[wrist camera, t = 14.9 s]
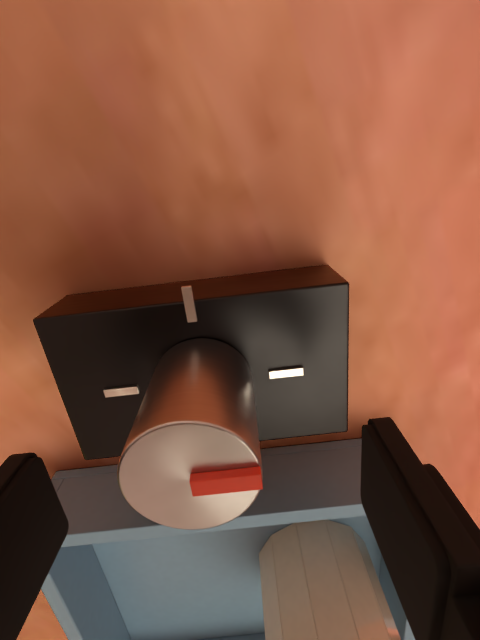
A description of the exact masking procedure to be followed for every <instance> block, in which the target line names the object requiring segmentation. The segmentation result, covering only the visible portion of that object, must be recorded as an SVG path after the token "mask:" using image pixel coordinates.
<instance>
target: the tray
mask: <svg viewBox="0 0 480 640" xmlns="http://www.w3.org/2000/svg"><path fill="white" fill-rule="evenodd" d="M361 445H362V438H358V439H349V440H340V441H331V442H322V443H312V444H303V445H294V446H285V447H276V448H266V449H260V452H261V461H262V470H263V480H262V483H263V489H261V490H260V492H259V494H258V496H257V498H256V500H255V501H254V502H253V504H252V505H251V506H250V507H249V508H248V509H247V510H246V511H245V512H244V513H243V514H241V515H240V516H238V517H237V518H235V519H234V520H232V521H229V522H227V523H225V524H222V525H219V526H216V527H212V528H206V529H197V530H186V529H177V528H172V527H167V526H164V525H161V524H158V523H156V522H153V521H151V520H149V519H147V518H146V517H144V516H142V515H141V514H140V513H138V512H137V511H136V510H135V509H134V508H133V507H132V506H131V505H130V504H129V503H128V502H127V501H126V499H125V497H124V496H123V494H122V492H121V489H120V487H119V482H118V475H117V470H118V465H110V466H101V467H91V468H82V469H73V470H64V471H56V472H55V474H54V476H53V477H52V480H51V481H52V484H53V486H54V489H55V491H56V493H57V496H58V498H59V500H60V503H61V505H62V507H63V510H64V512H65V515H66V517H67V519H68V523H69V528H68V533H67V536H66V538H65V540H64V542H63V544H62V546H61V548H60V550H59V552H58V554H57V556H56V558H55V561H54V563H53V565H52V567H51V569H50V571H49V573H48V575H47V577H46V579H45V581H44V583H43V585H42V587H41V590H42V592H43V593H44V595H45V597H46V599H47V601H48V603H49V605H50V606H51V608H52V610H53V612H54V614H55V616H56V617H57V619H58V621H59V623H60V625H61V627H62V629H63V630H64V632H65V634H66V636H67V638H68V640H265V629H264V616H263V603H262V590H261V577H260V564H259V552H260V551H261V549H262V548H263V546H264V545H265V543H266V542H267V540H268V539H269V537H270V536H271V535H272V534H274V533H276V532H277V531H279V530H281V529H283V528H285V527H287V526H289V525H291V524H293V523H299V522H309V521H318V520H330V521H334V522H337V523H340V524H344V525H347V526H350V527H352V529H353V530H354V531H355V532H356V533H357V534H358V535H359V536H360V537H361V538H362V540H363V541H364V542H365V544H366V547H367V550H368V552H369V555H370V558H371V560H372V563H373V566H374V568H375V571H376V574H377V576H378V579H379V582H380V584H381V587H382V590H383V592H384V595H385V598H386V601H387V603H388V606H389V609H390V611H391V614H392V617H393V619H394V622H395V625H396V627H397V630H398V633H399V635H400V638H401V640H415V638H414V635H413V633H412V630H411V628H410V625H409V623H408V620H407V618H406V615H405V613H404V610H403V608H402V605H401V602H400V600H399V597H398V595H397V592H396V590H395V587H394V585H393V582H392V580H391V577H390V575H389V572H388V570H387V567H386V564H385V562H384V559H383V557H382V554H381V552H380V549H379V547H378V544H377V542H376V539H375V537H374V534H373V532H372V529H371V526H370V524H369V521H368V519H367V516H366V514H365V511H364V509H363V506H362V502H361V495H360V489H361Z"/></svg>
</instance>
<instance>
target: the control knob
mask: <svg viewBox="0 0 480 640" xmlns="http://www.w3.org/2000/svg"><path fill="white" fill-rule="evenodd" d="M117 475H118V482H119V487H120V489H121V492H122V494H123V496H124V497H125V499H126V501H127V502H128V503H129V504H130V505H131V506H132V507H133V508H134V509H135V510H136V511H137V512H138V513H140V514H141V515H142V516H144V517H146V518H147V519H149V520H151V521H153V522H156V523H158V524H161V525H164V526H167V527H172V528H177V529H186V530H197V529H206V528H212V527H216V526H219V525H222V524H225V523H227V522H229V521H232V520H234V519H235V518H237V517H238V516H240V515H241V514H243V513H244V512H245V511H246V510H247V509H248V508H249V507H250V506H251V505H252V504H253V502H254V501H255V500H256V498H257V496H258V494H259V492H260V490H261V489H263V483H262V480H263V470H262V461H261V452H260V443H259V434H258V426H257V417H256V408H255V399H254V390H253V381H252V374H251V370H250V368H249V365H248V363H247V361H246V360H245V359H244V357H243V356H242V355H241V354H240V353H239V352H238V351H237V350H235V349H234V348H233V347H231V346H229V345H228V344H226V343H223V342H221V341H218V340H214V339H207V338H197V339H190V340H187V341H183V342H181V343H179V344H176V345H175V346H173V347H172V348H170V349H169V350H168V351H167V352H166V353H165V354H164V355H163V356H162V357H161V359H160V360H159V362H158V364H157V366H156V368H155V371H154V373H153V376H152V378H151V381H150V383H149V386H148V389H147V391H146V394H145V396H144V399H143V401H142V404H141V406H140V409H139V411H138V414H137V416H136V419H135V421H134V424H133V426H132V429H131V431H130V434H129V436H128V439H127V441H126V444H125V446H124V449H123V452H122V454H121V457H120V460H119V463H118V470H117Z"/></svg>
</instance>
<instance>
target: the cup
mask: <svg viewBox="0 0 480 640" xmlns="http://www.w3.org/2000/svg"><path fill="white" fill-rule="evenodd" d="M259 564H260V577H261V590H262V603H263V616H264V629H265V640H401V638H400V635H399V633H398V630H397V627H396V625H395V622H394V619H393V617H392V614H391V611H390V609H389V606H388V603H387V601H386V598H385V595H384V592H383V590H382V587H381V584H380V582H379V579H378V576H377V574H376V571H375V568H374V566H373V563H372V560H371V558H370V555H369V552H368V550H367V547H366V544H365V542H364V541H363V540H362V538H361V537H360V536H359V535H358V534H357V533H356V532H355V531H354V530H353V529H352V527H350V526H347V525H344V524H340V523H337V522H334V521H330V520H318V521H309V522H299V523H293V524H291V525H289V526H287V527H285V528H283V529H281V530H279V531H277V532H276V533H274V534H272V535H271V536H270V537H269V539H268V540H267V542H266V543H265V545H264V546H263V548H262V549H261V551H260V552H259Z"/></svg>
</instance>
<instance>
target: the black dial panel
mask: <svg viewBox="0 0 480 640" xmlns="http://www.w3.org/2000/svg"><path fill="white" fill-rule="evenodd" d="M33 322H34V325H35V328H36V330H37V333H38V336H39V338H40V341H41V344H42V346H43V349H44V352H45V354H46V357H47V360H48V362H49V365H50V368H51V370H52V373H53V376H54V378H55V381H56V384H57V386H58V389H59V392H60V394H61V397H62V400H63V402H64V405H65V408H66V410H67V413H68V416H69V418H70V421H71V424H72V426H73V429H74V432H75V434H76V437H77V440H78V442H79V445H80V448H81V450H82V453H83V456H84V458H85V460H90V459H99V458H109V457H118V456H121V454H122V452H123V449H124V446H125V444H126V441H127V439H128V436H129V434H130V431H131V429H132V426H133V424H134V421H135V419H136V416H137V414H138V411H139V409H140V406H141V404H142V401H143V399H144V396H145V394H146V391H147V389H148V386H149V383H150V381H151V378H152V376H153V373H154V371H155V368H156V366H157V364H158V362H159V360H160V359H161V357H162V356H163V355H164V354H165V353H166V352H167V351H168V350H169V349H170V348H172V347H173V346H175V345H176V344H179V343H181V342H183V341H187V340H190V339H197V338H207V339H214V340H218V341H221V342H223V343H226V344H228V345H229V346H231V347H233V348H234V349H235V350H237V351H238V352H239V353H240V354H241V355H242V356H243V357H244V359H245V360H246V361H247V363H248V365H249V368H250V370H251V374H252V381H253V390H254V399H255V408H256V417H257V426H258V434H259V441H265V440H274V439H283V438H292V437H301V436H310V435H320V434H329V433H338V432H346V431H347V430H348V341H349V283H348V282H347V281H346V280H345V279H344V278H343V277H341V276H340V275H339V274H338V273H337V272H336V271H334V270H333V269H332V268H331V267H330V266H329V265H319V266H311V267H302V268H294V269H285V270H277V271H268V272H260V273H251V274H243V275H234V276H226V277H217V278H209V279H201V280H192V281H184V282H175V283H167V284H158V285H150V286H141V287H133V288H124V289H116V290H107V291H99V292H90V293H82V294H73V295H67V296H66V297H64V298H63V299H61V300H60V301H59V302H57V303H56V304H54V305H53V306H51V307H50V308H49V309H47V310H46V311H44V312H43V313H41V314H40V315H39V316H37V317H36V318H34V319H33Z"/></svg>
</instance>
